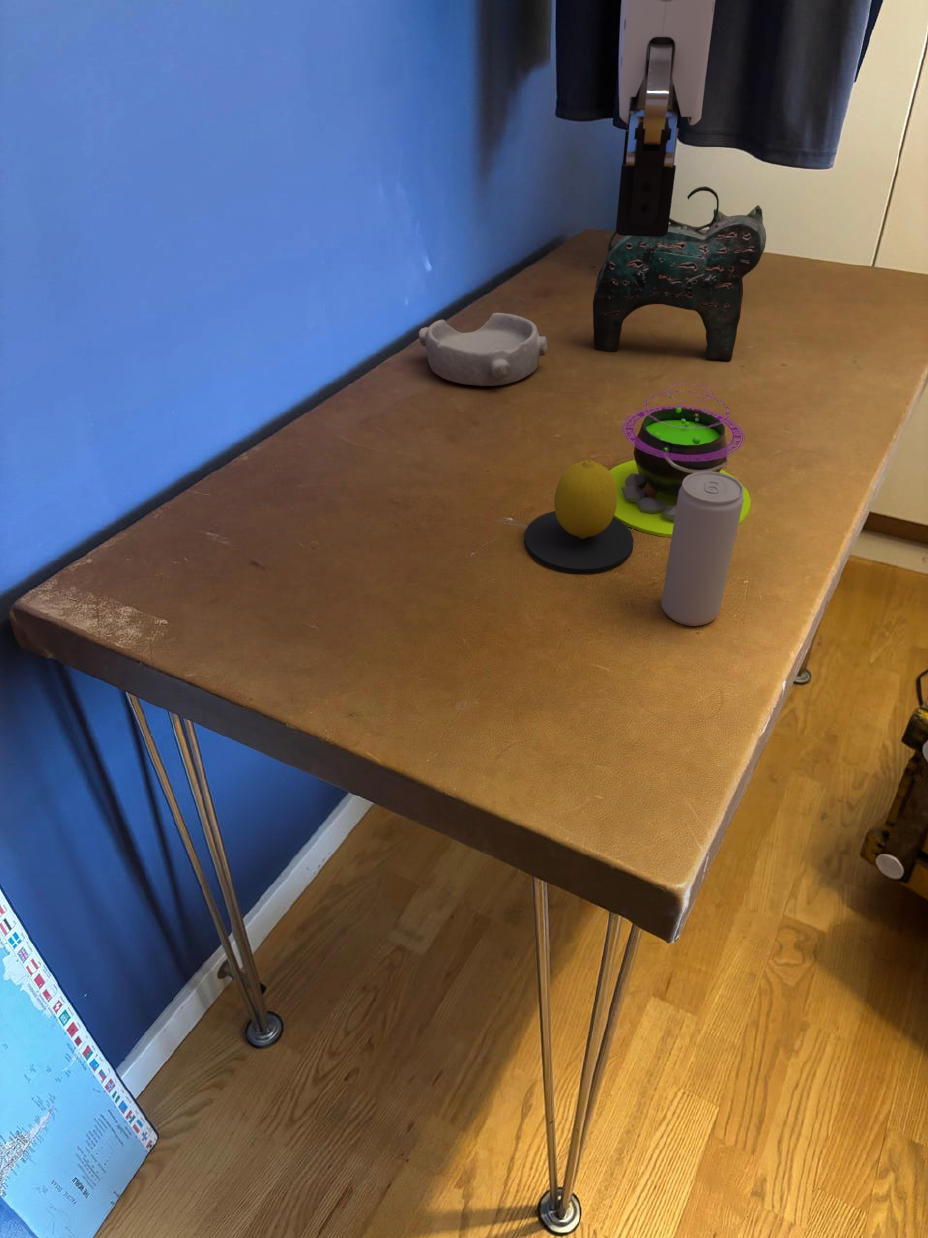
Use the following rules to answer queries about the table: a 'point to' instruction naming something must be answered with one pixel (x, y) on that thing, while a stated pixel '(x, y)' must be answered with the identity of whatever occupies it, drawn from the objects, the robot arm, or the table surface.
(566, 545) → the disc
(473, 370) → the dish
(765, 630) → the table surface
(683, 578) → the beverage can
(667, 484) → the toy cauldron
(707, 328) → the ceramic cat
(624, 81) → the robot arm
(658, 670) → the table surface
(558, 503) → the lemon
